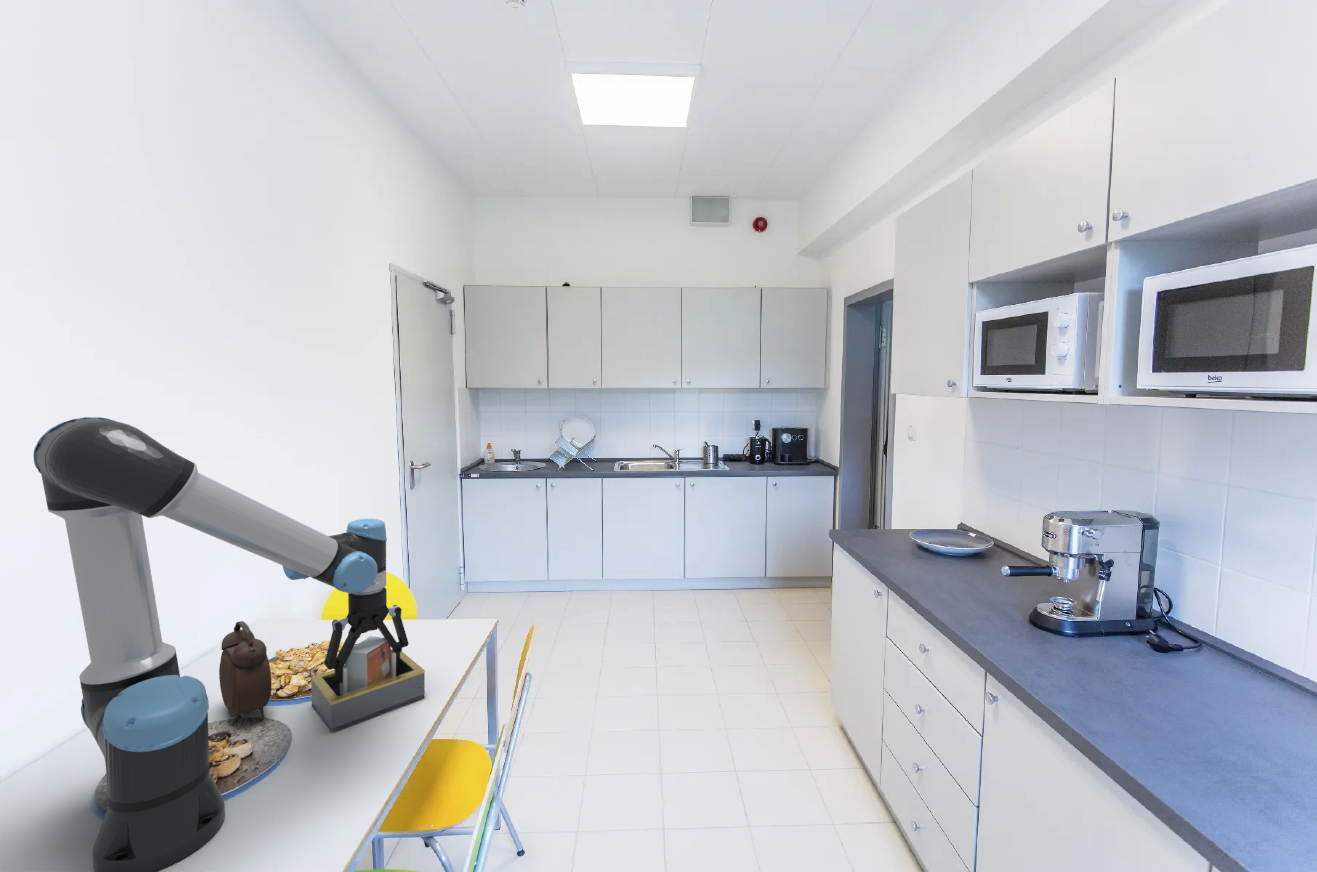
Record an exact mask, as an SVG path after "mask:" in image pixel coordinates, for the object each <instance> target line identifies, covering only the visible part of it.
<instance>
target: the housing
mask: <svg viewBox="0 0 1317 872" xmlns="http://www.w3.org/2000/svg"><path fill="white" fill-rule="evenodd" d="M425 672H426V671H425V669H423V668H422V667H421V666H420V665H419V664H417V662H415V661H414V659H412V658H411V657H410V656H408V655H407V654H406V653H405V652H404V651H403V650H402V651H401V652H400V663H399V664H398V665H396V677H393V678H390V679H387V680H384V681H381V682H378V683H375V684H372V685H369V686H366V687H363V688H360V689H357V690H355V691H352V692H349V693H346V694H343V695H341V694H340V683H339V684H337V682H336V681H335V669H331V670H329V671H326V672H323V673H320V674H317V675H313V676H310V680H311V681H310V683H311V684H310V686H311V689H310V690H311V707H312V708H313V710H314V711H315V712H316V714H317V715H318V717H319V718H320V719H321V721H322V722H323V723H324V725H325V726H326V728H327V729H328V731H329V732H330V733H331V734H334V733H337V732H340V731H342V730H346V729H348V728H350V727H353V726H355V725H357V724H360V723H364V722H365V721H368V720H371V719H374V718H376V717H378V716H382V715H384V714H387V713H389V712H392V711H394V710H397V709H401V708H403V707H405V706H407V705H411V704H413V703H416V702H418V701H421V700H424V699H425V698H426V697H425V685H426V684H425V675H426V674H425Z"/></svg>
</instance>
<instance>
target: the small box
mask: <svg viewBox="0 0 1317 872" xmlns="http://www.w3.org/2000/svg"><path fill="white" fill-rule="evenodd" d="M391 649H392V648H391V645H390V643H389V642H388V640H387V639H386V638H384V637H381V636H373V635H372V636H371V635H369V636H368V637H367V638H365V639H364V640H362V641H360V642H359V643H357V644H355V645H354V647H353V649H352V651H351V653H350V655H349V657H348V659H347V661H346V663H345V666H346V667H347V680H348V693H349V692H352V691H355V690H357V689H360V688H363V687H366V686H369V685H372V684H375V683H378V682H381V681H384V680H387V679H390V678H391Z"/></svg>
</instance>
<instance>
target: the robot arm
mask: <svg viewBox="0 0 1317 872" xmlns="http://www.w3.org/2000/svg"><path fill="white" fill-rule="evenodd" d="M33 463H34V466H35V468H36V469H37V471H38V473H39V474H41V481H42V486H43V492H44V494H45V495H44V496H45V502H46V505H47V506H46V507H47V511H48V513H51V514H53V515H56V516H57V517H59V518H61V519H63V520H64V521H65V522H64V523H65V528H66V533H67V539H68V545H69V548H70V554H71V561H72V566H73V571H74V576H75V581H76V587H77V592H78V593H77V594H78V598H79V599H78V600H79V603H80V609H81V614H82V615H81V616H82V620H83V627H84V631H85V632H84V633H85V636H86V637H85V638H86V641H87V647H88V653H89V659H90V662H89V664H88V665H87V666H86V667H85V668H84V669H83V670H82V671H81V672H80V674H79V678H78V679H79V683H80V689H81V694H82V699H81V706H80V715H81V717H82V721H83V722H84V724H85V726H86V727H87V729H89V731H90V733H91V735H92V736H93V738H94V740H95V741H96V744H97V746H98V747H99V750H100V752H101V754H102V756H103V758H104V763H105V774H106V775H105V777H106V795H107V810H106V812H105V815H104V817H103V820H102V823H101V825H100V828H99V831H98V834H97V837H96V839H95V842H94V846H93V849H92V862H93V863H92V865H93V870H94V871H95V872H156V871H159V870H162V869H164V868H166V867H169V866H171V865H173V864H174V863H177V862H179V861H181V860H182V859H184V858H186V857H188V856H189V855H191V854H193V853H194V852H196V851H197V850H199V849H200V848H201V847H202V846H203V845H205V844H206V843H207V842H209V840H211V839H212V838H213V837H214V836H215V834H216V833H218V832H219V830H220V829H221V828H222V826H223V824H224V821H225V818H226V811H225V810H226V809H225V808H226V807H225V805H226V804H225V799H224V796H223V794H222V793H221V791H220V789H219V787H218V785H217V783H216V782H215V780H214V778H213V777H212V775H211V771H210V745H209V744H210V743H209V742H210V741H209V738H210V737H209V715H208V713H209V712H208V711H209V707H210V703H209V702H210V701H209V696H208V694H207V689H206V687H205V685H204V683H203V682H202V681H201V680H199V679H198V678H195V677H193V676H191V675H183V676H181V673H180V668H179V661H178V655H177V649H176V647H175V646H174V645H172V644H169V643H167V642H163V639H162V638H163V637H162V632H161V627H160V625H161V624H160V619H159V614H158V607H157V600H156V595H155V594H156V593H155V589H154V582H153V578H152V576H153V575H152V569H151V565H150V564H151V563H150V559H149V558H150V557H149V550H148V547H147V545H148V544H147V539H146V533H145V527H144V521H143V517H145V518H149V519H152V518H157V517H161V516H163V517H165V518H167V519H170V520H171V521H175V522H177V523H180V524H182V525H185V526H187V527H190V528H192V529H195V530H196V531H199V532H201V533H203V534H206V535H209V536H210V537H213V538H216V539H218V540H220V541H223V542H225V543H227V544H230V545H232V546H235V547H237V548H240V549H242V550H244V551H247V552H249V553H252V554H254V555H257V556H259V557H262V558H264V559H265V560H266V559H267V560H269V561H272V562H273V563H276V564H279V565H280V566H282V569H283V573H284V574H285V576H286V577H287V579H289V580H291V581H297V580H302V579H303V580H306V579H308V578H312V579H314V580H316V581H319V582H321V583H324V584H326V585H328V586H330V587H333V588H335V590H338V591H339V592H343V593H346V594H347V595H348V596H347V598H348V599H347V601H348V602H347V603H348V604H347V605H348V606H347V607H348V609H347V610H348V613H347V615H346V617H345V618H342V619H333V620H332V622H331V627H332V631H331V632H332V633H331V636H330V641H329V645H328V648H327V652H326V655H325V660H324V664H323V665H324V666H325V667H326V668H327V669H328V670H329V671H332V670H335V681H336V682H337V684H339V683H340V694H341V695H343V694H346V693H348V680H347V667H346V666H345V663H346V661H347V659H348V657H349V655H350V653H351V651H352V649H353V647H354V646H355V645H356V643H357V641H358V639H359V638H360V637H361V635H362V634H366V633H369V632H371V631H377V630H379V632H380V633H381V635H382V636H383V638H386V639H387V640H388V642H389V643H390V645H391V678H393V677H396V665H398V664H399V663H400V652H401V651H402V652H403V649H404V648H405V647H408V646H409V645H410V644H409V639H408V637H407V633H406V629H405V626H404V623H403V620H402V608H401V607H400V606H399V605H397V604H394V605H392V606H391V607H388V606H387V603H388V602H387V599H388V598H387V597H388V596H387V588H386V586H387V540H388V539H387V528H386V524H385V522H384V521H383V520H381V519H378V518H361V519H356V520H353V521H352V520H351V521H350V522H348V524H347V526H346V530H345V531H346V532H341V533H339V534H333V535H326V534H324V533H322V532H320V531H318V530H317V529H314V528H312V527H310V526H308V525H306V524H304V523H302V522H300V521H298V520H296V519H294V518H292V517H290V516H287V515H286V514H285V513H282V512H279V511H277V510H276V509H273V508H271V507H269V506H267V505H265V504H262V503H261V502H259V501H258V500H257V501H256V500H255V499H253V498H251V497H249V496H246V495H245V494H242V493H240V492H238V491H236V490H234V489H232V488H231V487H228V486H226V485H224V484H222V483H220V482H218V481H216V480H214V479H212V478H209V477H207V476H206V475H203V474H201V473H199V470H198V466H197V463H195V462H193V461H191V460H189V459H187V458H185V457H183V456H182V455H180V454H177V453H176V452H175V451H173V450H171V449H169V448H168V447H166V446H165V445H163V444H161V443H160V442H158V441H157V440H156V439H154V438H153V437H152V436H150V435H148V434H147V433H145V432H144V431H142V430H140V429H139V428H137V427H135V426H134V425H133V426H132V425H130V424H127V423H124V422H120V421H116V420H114V419H110V418H106V417H101V416H100V417H99V416H98V417H97V416H96V417H88V416H84V417H77V418H72V419H69V420H66V421H63V422H61V423H60V422H59V423H58V424H56V425H55V426H53V427H50V428H49V429H48V430H46V432H45V433H44V434H42V435H41V437H40V438H39V440H38V441H37V443H36V445H35V446H34V450H33ZM388 615H389V616H390V617H391V619H392V623H393V625H394V630H395V632H396V636H397V639H398V641H397V640H396V639H395V637H394V636H393V635H392V633H391V632H390V630H389V629H388V627H387V625H386V624H385V622H384V620H385V619H386V617H388ZM347 625H349V626H350V628H349V630H348V635H347V637H346V638H345V640H344V643H343V644H342V646H341V648H340V645H341V642H342V637H343V631H344V630H345V629H346V626H347ZM339 649H340V651H339Z"/></svg>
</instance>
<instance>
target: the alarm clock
mask: <svg viewBox="0 0 1317 872" xmlns="http://www.w3.org/2000/svg"><path fill="white" fill-rule="evenodd" d="M220 649H221V651H222V652H221V656H220V662H219V669H218V671H219V672H218V675H219V686H220V687H219V688H220V692H221V697H222V701H223V703H224V706H225V707H226V711H227V713H228V715H229V716H230V718H236V719H237V723H236V724H237V725H241V723H242V721H241V719H242V716H244V715H248V714H251V713H252V712H255V711H258V712H259V714H260V719H264V718H265V714H264V713H265V712H264V711H265V710H264V709H265V708H264V707H266V706H267V705H268V704H269V702H270V701H269V700H270V698H271V696H272V687H273V686H272V673H271V666H270V661H269V657H268V654H267V646H266V644H265V642H263V640H262V639H258V638H256V637H255V635H254V633H253V632H252V631H251V628H250V627H249V625H248V624H247V623H246V622H245V621H243V620H240V621H236V622H235V625H234V627H233V631H231V632H229V633H227V634H226V635H225V636H224V637H223V639H222V641H221V648H220Z"/></svg>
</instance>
